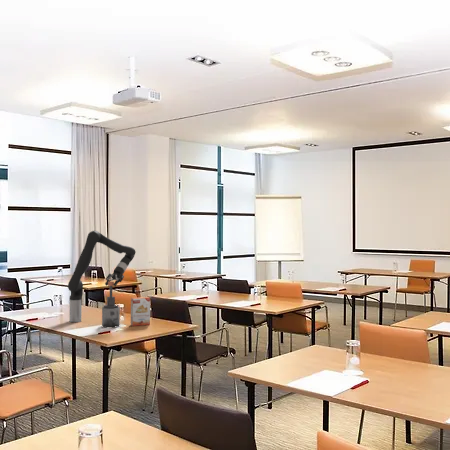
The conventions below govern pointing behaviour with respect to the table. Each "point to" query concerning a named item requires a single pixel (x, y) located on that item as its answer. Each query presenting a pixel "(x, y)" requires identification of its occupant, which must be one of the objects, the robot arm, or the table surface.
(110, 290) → the plunger
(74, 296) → the robot arm
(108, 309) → the detonator box
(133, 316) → the cracker box
